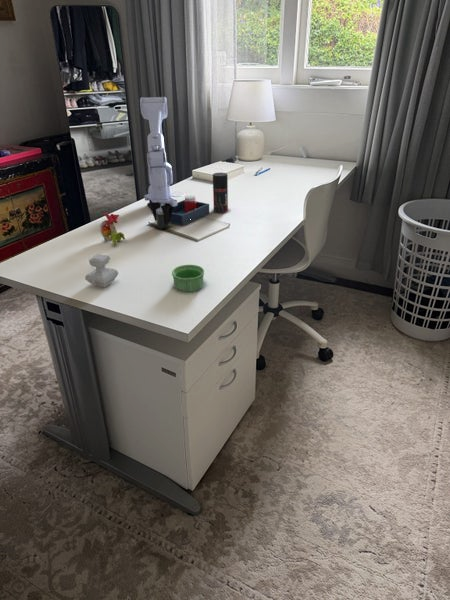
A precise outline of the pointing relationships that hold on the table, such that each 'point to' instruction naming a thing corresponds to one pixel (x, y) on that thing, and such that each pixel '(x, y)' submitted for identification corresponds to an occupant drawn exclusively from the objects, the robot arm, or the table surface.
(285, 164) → the table surface
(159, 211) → the pepper shaker
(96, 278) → the stamp
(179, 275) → the ramekin
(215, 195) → the deodorant
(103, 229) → the bird rattle
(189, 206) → the salt shaker
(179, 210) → the bin
